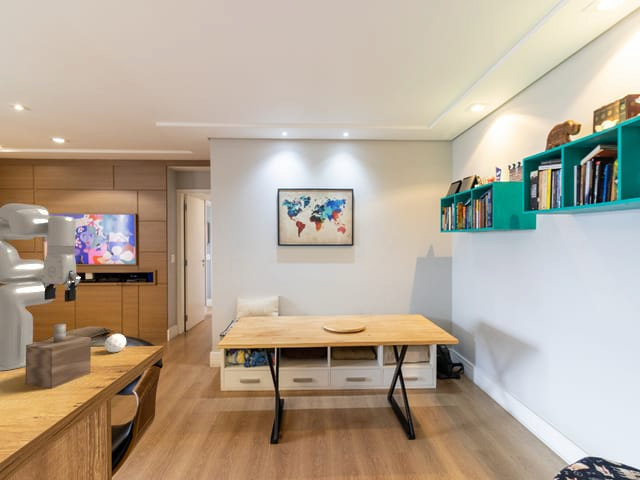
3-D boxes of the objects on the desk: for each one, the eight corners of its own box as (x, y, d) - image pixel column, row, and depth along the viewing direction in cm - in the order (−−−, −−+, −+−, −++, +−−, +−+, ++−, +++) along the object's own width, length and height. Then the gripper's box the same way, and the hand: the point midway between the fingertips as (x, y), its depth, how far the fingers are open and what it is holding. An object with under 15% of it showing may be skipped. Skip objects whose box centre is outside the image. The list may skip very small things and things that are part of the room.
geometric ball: (110, 358, 132) (103, 342, 134) (130, 348, 137) (123, 332, 139) (107, 354, 126) (99, 337, 128) (128, 344, 131) (121, 328, 133)
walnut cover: (25, 383, 102) (26, 328, 102) (65, 369, 113) (66, 319, 114) (51, 388, 98) (52, 331, 98) (90, 373, 110) (91, 322, 110)
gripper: (31, 250, 105) (30, 300, 105) (67, 252, 101) (66, 303, 100) (55, 250, 113) (54, 296, 112) (90, 251, 108) (89, 300, 108)
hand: (59, 300), depth 106 cm, fingers open, 9 cm apart
